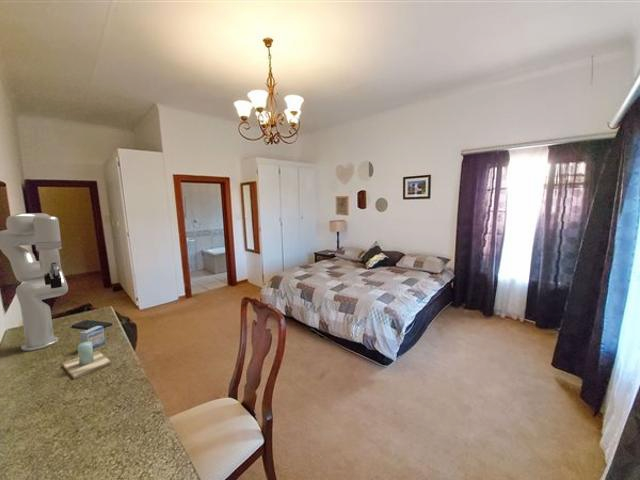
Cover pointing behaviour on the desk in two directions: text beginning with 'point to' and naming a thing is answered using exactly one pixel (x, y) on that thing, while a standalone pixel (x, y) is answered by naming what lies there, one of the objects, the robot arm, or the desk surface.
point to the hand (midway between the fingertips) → (53, 285)
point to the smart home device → (90, 324)
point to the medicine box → (93, 336)
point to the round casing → (85, 353)
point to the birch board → (81, 370)
